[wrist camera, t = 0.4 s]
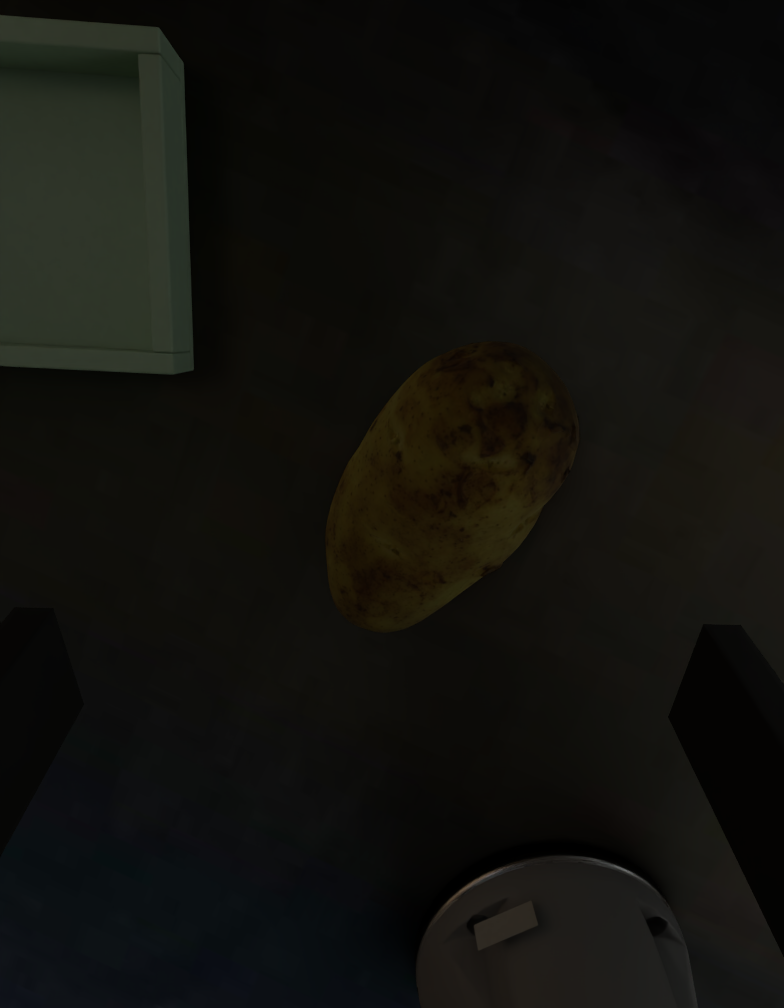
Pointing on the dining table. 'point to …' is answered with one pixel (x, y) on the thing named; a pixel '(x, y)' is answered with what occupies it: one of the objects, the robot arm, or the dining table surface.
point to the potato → (447, 482)
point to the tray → (93, 199)
